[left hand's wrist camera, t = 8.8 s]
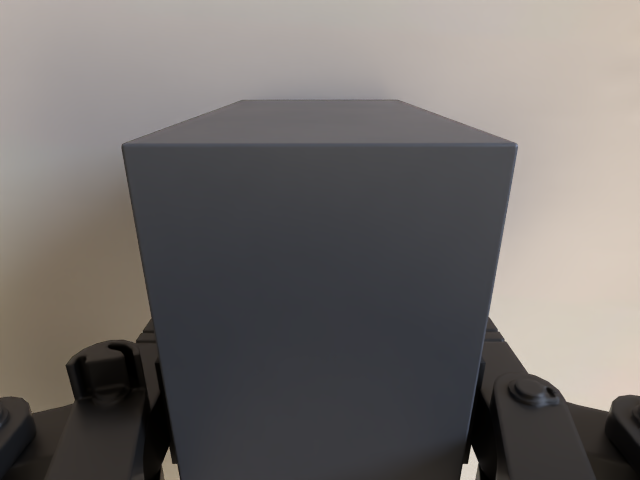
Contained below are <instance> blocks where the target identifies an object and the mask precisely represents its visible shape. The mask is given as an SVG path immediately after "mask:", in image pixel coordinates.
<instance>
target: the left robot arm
mask: <svg viewBox="0 0 640 480" xmlns="http://www.w3.org/2000/svg"><path fill="white" fill-rule="evenodd" d="M66 369H67V372H68V376H69V380H70V383H71V387H72V390H73V394H74V398H75V401H74V404H71V405H67V406H64V407H59V408H55V409H50V410H46V411H41V412H37V413H32V412H31V409H30V406H29V403H27V402H26V401H25V400H24V399H23V398H18V397H4V398H0V480H164V474H163V469H162V463H163V460H164V458H165V455H166V453H167V450H168V448H169V447H170V453H171V458H172V464H177V458H176V453H175V447H174V441H173V436H172V430H171V424H170V419H169V413H168V407H167V402H166V396H165V390H164V385H163V379H162V374H161V368H160V362H159V357H158V351H157V345H156V340H155V334H154V328H153V323H152V319H151V320H150V321H149V323H148V324H147V326H146V327H145V328H144V330H143V333H141V334H140V336H139V337H138V339H137V340H136V343H133V342H130V341H126V340H110V341H105V342H101V343H97V344H94V345H92V346H90V347H87V348H85V349H83V350H82V351H80V352H79V353H77V354H76V355H74V356H73V357H72V358H71V359H70V361H69V362H68V363H67V364H66ZM471 445H472V447H473V450H474V452H475V455H476V457H477V460H478V462H479V463H478V469H477V474H476V479H475V480H640V396H635V395H625V396H619V397H618V398H616V399H615V400H614V401H613V402H612V405H611V408H610V411H609V412H607V411H602V410H598V409H593V408H589V407H584V406H580V405H576V404H572V403H569V402H566V401H565V399H564V397H563V396H562V394H561V393H560V391H559V390H558V389H557V388H555V387H554V386H553V385H552V384H550V383H549V382H548V381H546V380H544V379H542V378H539V377H537V376H535V375H531V374H528V372H527V371H526V370H525V368H524V367H523V365H522V364H521V362H520V361H519V359H518V358H517V357H516V355H515V354H514V352H513V351H512V349H511V348H510V347H509V345H508V344H507V342H505V341H504V338H503V336H502V335H501V334H500V332H498V329H497V328H496V326H495V325H494V323H493V322H492V321H491V319H490V318H489V317H488V321H487V327H486V333H485V338H484V344H483V350H482V356H481V361H480V367H479V373H478V379H477V384H476V390H475V396H474V402H473V407H472V413H471V419H470V424H469V430H468V436H467V442H466V447H465V453H464V459H463V464H468V460H469V454H470V449H471Z"/></svg>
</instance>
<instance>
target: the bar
mask: <svg viewBox="0 0 640 480" xmlns="http://www.w3.org/2000/svg"><path fill="white" fill-rule="evenodd" d="M517 149H518V145H517V144H516V143H514V142H511V141H509V140H506V139H503V138H500V137H498V136H495V135H492V134H489V133H487V132H484V131H481V130H478V129H476V128H473V127H470V126H468V125H465V124H462V123H459V122H457V121H454V120H451V119H448V118H446V117H443V116H440V115H438V114H435V113H432V112H429V111H427V110H424V109H421V108H418V107H416V106H413V105H410V104H408V103H405V102H402V101H399V100H241V101H239V102H236V103H233V104H230V105H228V106H225V107H222V108H219V109H217V110H214V111H211V112H208V113H206V114H203V115H200V116H197V117H195V118H192V119H189V120H187V121H184V122H181V123H178V124H176V125H173V126H170V127H167V128H165V129H162V130H159V131H156V132H154V133H151V134H148V135H145V136H143V137H140V138H137V139H134V140H132V141H129V142H126V143H124V144H122V153H123V159H124V164H125V170H126V176H127V181H128V187H129V193H130V198H131V204H132V210H133V215H134V221H135V227H136V232H137V238H138V244H139V249H140V255H141V261H142V266H143V272H144V277H145V283H146V289H147V294H148V300H149V306H150V311H151V317H152V323H153V328H154V334H155V340H156V345H157V351H158V357H159V362H160V368H161V374H162V379H163V385H164V390H165V396H166V402H167V407H168V413H169V419H170V424H171V430H172V436H173V441H174V447H175V453H176V458H177V464H178V470H179V475H180V480H460V476H461V470H462V465H463V459H464V453H465V447H466V442H467V436H468V430H469V424H470V419H471V413H472V407H473V402H474V396H475V390H476V384H477V379H478V373H479V367H480V361H481V356H482V350H483V344H484V338H485V333H486V327H487V321H488V316H489V310H490V304H491V298H492V293H493V287H494V281H495V275H496V270H497V264H498V258H499V252H500V247H501V241H502V235H503V230H504V224H505V218H506V212H507V207H508V201H509V195H510V189H511V184H512V178H513V172H514V166H515V161H516V155H517Z"/></svg>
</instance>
